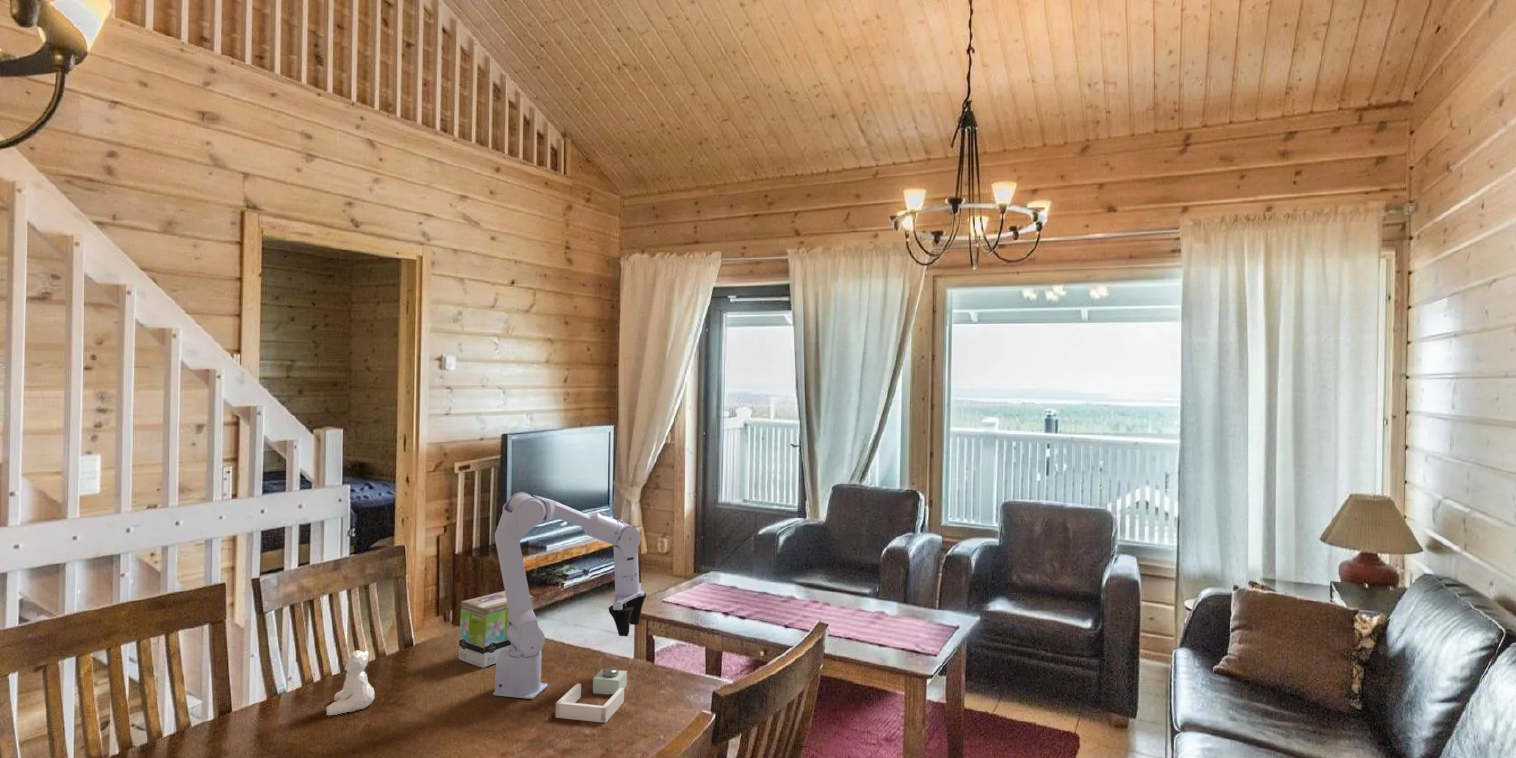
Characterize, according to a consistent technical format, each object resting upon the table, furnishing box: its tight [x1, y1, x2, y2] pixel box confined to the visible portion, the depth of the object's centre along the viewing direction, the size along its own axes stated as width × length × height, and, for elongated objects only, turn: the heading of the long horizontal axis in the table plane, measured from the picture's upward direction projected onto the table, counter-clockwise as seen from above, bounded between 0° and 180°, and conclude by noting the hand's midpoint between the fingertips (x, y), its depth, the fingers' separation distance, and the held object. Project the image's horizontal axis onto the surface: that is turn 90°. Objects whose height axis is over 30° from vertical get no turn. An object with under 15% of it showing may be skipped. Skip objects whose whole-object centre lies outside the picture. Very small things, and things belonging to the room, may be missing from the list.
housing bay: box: [554, 683, 625, 724], centre depth 174 cm, size 11×11×3 cm
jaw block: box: [592, 667, 628, 695], centre depth 186 cm, size 6×6×4 cm
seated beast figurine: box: [325, 649, 376, 716], centre depth 173 cm, size 10×9×12 cm
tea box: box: [458, 590, 534, 669], centre depth 205 cm, size 15×10×15 cm
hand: (629, 629), depth 196 cm, fingers open, 7 cm apart
